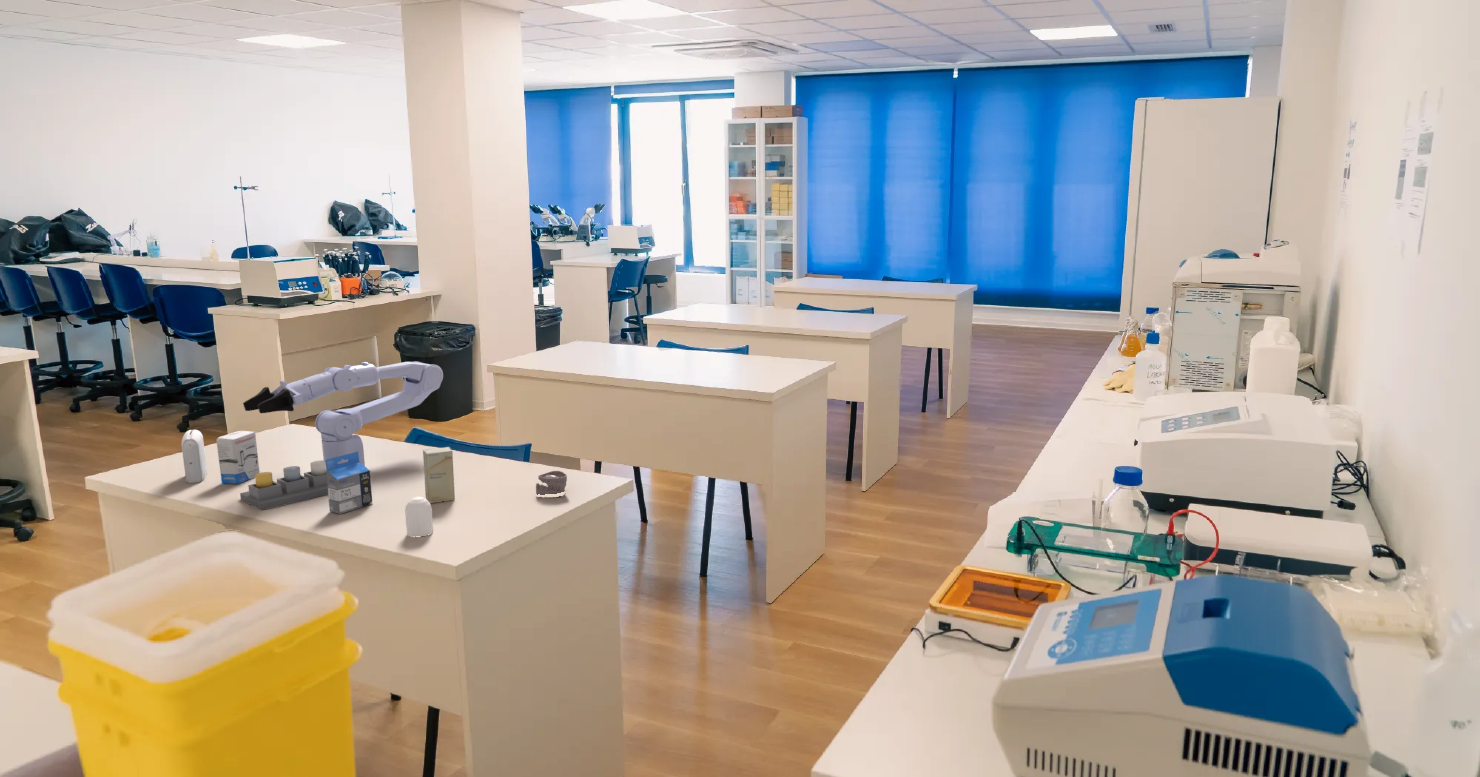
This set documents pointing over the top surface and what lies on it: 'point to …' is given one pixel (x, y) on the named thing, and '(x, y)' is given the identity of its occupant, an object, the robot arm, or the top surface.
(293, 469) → the slate button
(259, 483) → the amber button
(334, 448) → the robot arm
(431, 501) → the skincare box
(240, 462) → the ink box
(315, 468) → the ivory button
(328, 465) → the label tape cartridge
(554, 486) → the dental mold
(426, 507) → the white rounded cylinder
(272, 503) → the panel
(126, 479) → the top surface
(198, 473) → the photo printer
